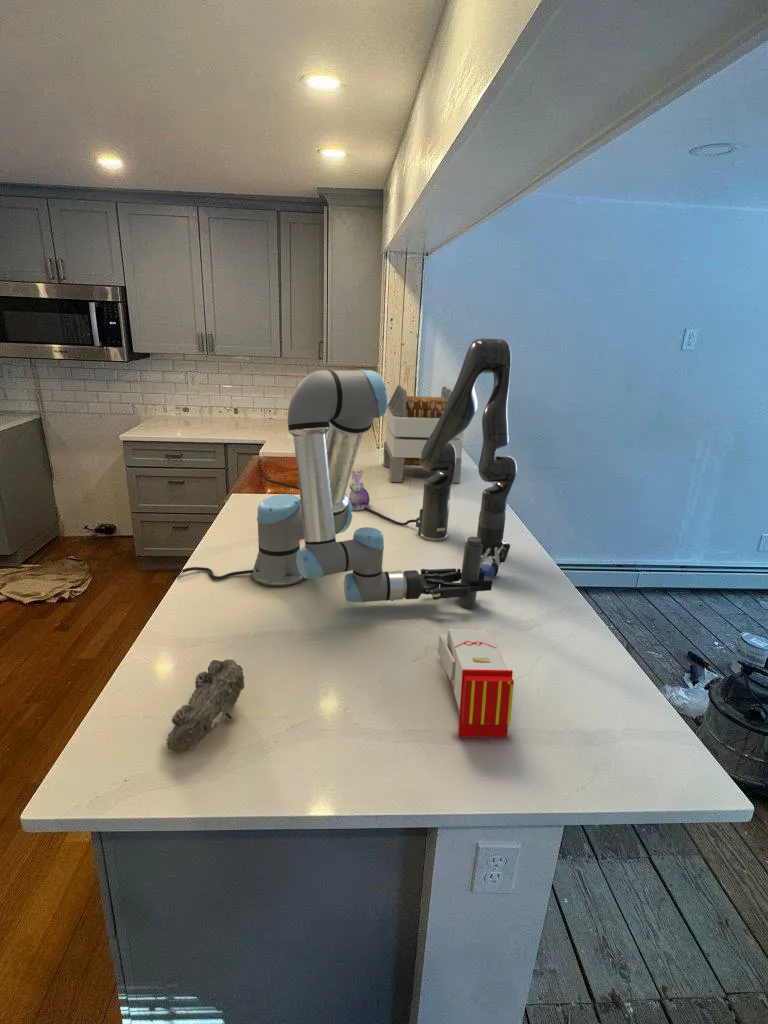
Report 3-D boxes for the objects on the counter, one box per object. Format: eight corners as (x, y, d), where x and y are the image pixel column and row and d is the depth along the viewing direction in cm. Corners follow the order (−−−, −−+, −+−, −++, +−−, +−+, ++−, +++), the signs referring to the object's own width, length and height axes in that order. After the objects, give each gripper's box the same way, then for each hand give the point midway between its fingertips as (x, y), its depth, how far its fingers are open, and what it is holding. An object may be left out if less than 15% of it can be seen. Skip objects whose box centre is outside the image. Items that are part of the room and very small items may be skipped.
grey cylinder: (454, 602, 154) (461, 538, 148) (465, 598, 157) (473, 534, 151) (467, 609, 151) (475, 543, 145) (478, 604, 154) (487, 540, 148)
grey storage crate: (382, 463, 289) (386, 382, 275) (445, 464, 293) (451, 384, 279) (390, 482, 257) (394, 392, 243) (460, 483, 261) (468, 394, 247)
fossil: (192, 660, 117) (244, 628, 112) (224, 691, 120) (276, 661, 115) (142, 746, 98) (202, 712, 93) (182, 779, 101) (242, 748, 96)
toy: (488, 613, 130) (523, 677, 101) (484, 667, 133) (517, 744, 104) (435, 612, 130) (455, 676, 101) (432, 666, 133) (451, 743, 103)
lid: (490, 577, 166) (491, 572, 166) (474, 573, 169) (475, 567, 168) (497, 571, 170) (497, 566, 170) (481, 567, 173) (482, 562, 172)
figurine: (353, 512, 218) (354, 475, 213) (342, 504, 226) (343, 468, 221) (375, 509, 222) (376, 473, 217) (363, 501, 230) (364, 466, 225)
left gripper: (395, 582, 158) (475, 578, 162) (410, 614, 142) (498, 609, 146) (397, 558, 155) (477, 554, 160) (412, 588, 139) (501, 583, 144)
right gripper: (504, 517, 170) (498, 568, 176) (463, 521, 165) (458, 574, 171) (519, 525, 164) (512, 578, 169) (477, 531, 158) (471, 585, 164)
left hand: (487, 580), depth 153 cm, fingers closed on grey cylinder, 5 cm apart
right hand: (485, 576), depth 170 cm, fingers closed on lid, 5 cm apart
